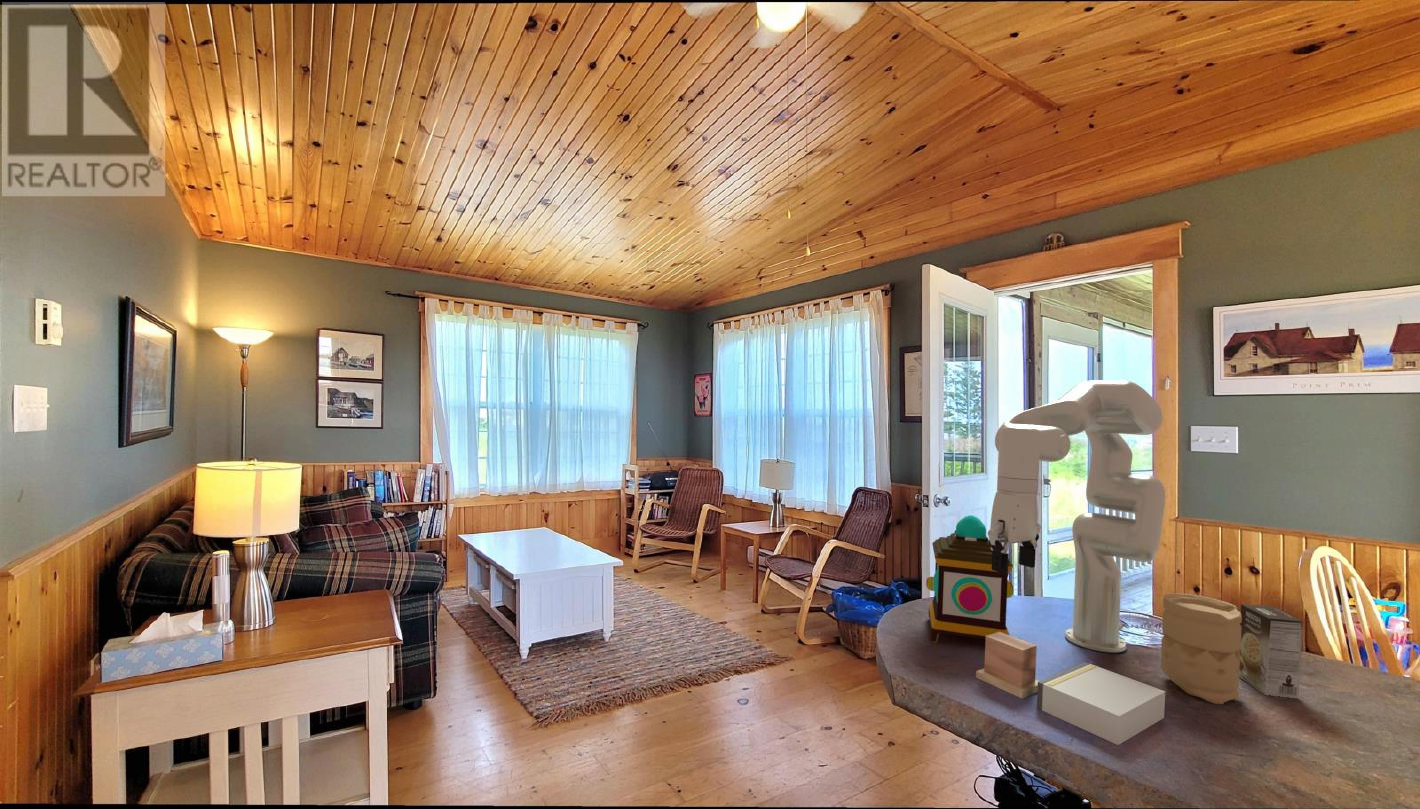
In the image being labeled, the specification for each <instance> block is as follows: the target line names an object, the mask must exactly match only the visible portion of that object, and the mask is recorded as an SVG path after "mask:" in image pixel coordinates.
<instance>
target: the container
mask: <svg viewBox="0 0 1420 809" xmlns="http://www.w3.org/2000/svg"><path fill="white" fill-rule="evenodd" d="M1162 602H1163V608H1164V610H1163V612H1162V626H1161V627H1162V628H1161V629H1162V633H1163V636H1162V638H1161V643H1160V644H1161V647H1160V648H1161V649H1160V651H1161V652H1160V669H1161V671H1162V673H1163V674H1164V675H1165V676H1167V677H1168V678H1169V680H1171V682H1173V683H1174V684H1175V685H1176V686H1178V687H1179V688H1180V689H1181V690H1182V691H1184V692H1185V693H1186V694H1188V695H1190V696H1193V697H1197V698H1200V699H1203V700H1205V701H1206V702H1209V703H1211V704H1213V705H1224V704H1225V703H1228V702H1229V701H1234V702H1238V701H1239V691H1238V689H1239V685H1240V684H1239V683H1240V677H1239V668H1240V647H1241V625H1240V623H1241V622H1242V616H1241V611H1239V610H1238V607H1237V606H1236V605H1234V604H1232V603H1230V602H1227V601H1223V600H1219V599H1216V598H1212V597H1207V596H1203V595H1197V594H1189V593H1177V592H1175V593H1174V592H1172V593H1166V594H1163V601H1162Z"/></svg>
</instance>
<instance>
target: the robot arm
mask: <svg viewBox="0 0 1420 809" xmlns="http://www.w3.org/2000/svg"><path fill="white" fill-rule="evenodd" d="M1163 417H1164V416H1163V410H1162V408H1161V406H1160V404H1159V403H1158V401H1157V400H1156V399H1155V398H1154V397H1153V396H1151V395H1150V394H1149V393H1148V391H1146V389H1144V388H1143V387H1142V386H1140V385H1138V384H1137V383H1135V382H1133V381H1130V380H1086V381H1081V382H1079V383H1078V384H1076V385H1075V386H1074V387H1072V388H1071V389H1069V390H1068V391H1067V392H1066V393H1065V394H1063V395H1062V396H1061V397H1060V398H1058V399H1057V400H1056V401H1054V402H1050V403H1049V402H1048V403H1046V404H1043V405H1040V406H1037V407H1033V408H1030V409H1026V410H1022V411H1020V412H1018V413H1016V414H1013V415H1012V416H1011V417H1010V418H1008V419H1007V420H1006V421H1004V422H1003V423H1002V424H1001V426H1000V427H999V428H998V430H997V432H996V433H995V437H994V446H995V448H996V451H997V452H998V454H997V455H998V457H997V458H998V459H997V475H996V476H997V477H996V478H997V482H996V483H997V484H996V492H995V494H994V499H993V504H992V509H991V518H990V525H989V526H990V527H989V529H988V531H987V538H988V539H989V540H990V541H989V544H990V546H991V551H992V570H994V571H997V572H1001V573H1004V574H1006V573H1008V560H1010V559H1009V558H1010V554H1009V553H1008V550H1009V549H1010V546H1011V545H1012V544H1018V543H1020V545H1019V548H1018V564H1019V565H1020V566H1024V567H1027V568H1031V569H1033V568H1035V567H1036V555H1037V554H1036V552H1037V550H1036V549H1037V547H1038V543H1037V542H1038V541H1039V539H1040V533H1041V529H1042V526H1041V525H1040V523H1039V522H1038V520H1039V519H1038V514H1039V512H1038V496H1039V494H1038V493H1039V492H1038V491H1039V473H1040V472H1039V471H1040V469H1039V468H1040V462H1045V463H1046V462H1047V463H1055V462H1056V463H1057V462H1058V461H1062V460H1063V459H1065V457H1066V456H1067V455H1068V454H1069V453H1070V450H1071V439H1070V436H1073V435H1078V434H1080V433H1083V432H1085V434H1086V436H1087V438H1088V442H1089V445H1090V449H1091V452H1090V453H1091V454H1090V455H1091V456H1090V461H1089V462H1090V464H1089V469H1088V475H1087V482H1086V488H1085V496H1086V501H1087V502H1088V503H1089V504H1090V505H1091V506H1093V507H1096V508H1100V509H1105V510H1110V511H1115V512H1116V511H1117V512H1122V513H1128V514H1133V515H1135V519H1134V518H1129V517H1121V516H1117V515H1113V514H1111V515H1110V514H1105V513H1099V512H1085V513H1081V514H1079V515H1077V516H1076V517H1075V519H1074V520H1073V523H1072V529H1071V530H1072V539H1073V545H1074V553H1075V555H1074V556H1075V557H1074V558H1075V560H1074V561H1075V564H1074V565H1075V566H1074V567H1075V570H1074V589H1073V591H1074V593H1073V610H1072V611H1073V615H1072V616H1073V617H1072V628H1068V629H1066V630H1065V634H1064V636H1065V638H1066V639H1067V640H1068V641H1069V642H1071V643H1072V644H1075V645H1077V646H1080V647H1082V648H1084V649H1087V650H1092V651H1097V652H1103V653H1114V654H1115V653H1121V652H1125V651H1126V649H1127V643H1126V641H1124V640H1123V639H1121V638H1120V637H1119V636H1120V631H1121V630H1123V629H1124V626H1123V625H1124V624H1123V623H1122V622H1120V618H1121V617H1120V615H1121V614H1120V612H1121V594H1122V593H1121V592H1122V573H1121V570H1120V567H1119V566H1118V564H1117V562H1116V561H1115V559H1114V558H1113V557H1115V558H1121V559H1125V560H1130V561H1135V562H1140V563H1149V562H1151V561H1153V560H1154V559H1156V557H1157V555H1158V551H1159V548H1160V544H1161V543H1160V542H1161V536H1162V529H1163V522H1164V516H1165V505H1166V491H1165V490H1166V489H1165V487H1164V484H1163V483H1162V481H1161V480H1160V479H1159V478H1157V477H1156V476H1153V475H1150V474H1149V475H1148V474H1141V473H1132V471H1131V470H1132V463H1133V452H1132V449H1131V447H1130V445H1129V444H1128V443H1127V441H1126V440H1125V439H1124V438H1123V436H1121V434H1122V435H1136V436H1137V435H1139V436H1148V435H1150V436H1151V435H1153V434H1155V433H1157V432H1158V431H1159V429H1160V428H1161V426H1162V423H1163V419H1164V418H1163ZM1002 543H1003V544H1002Z"/></svg>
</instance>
